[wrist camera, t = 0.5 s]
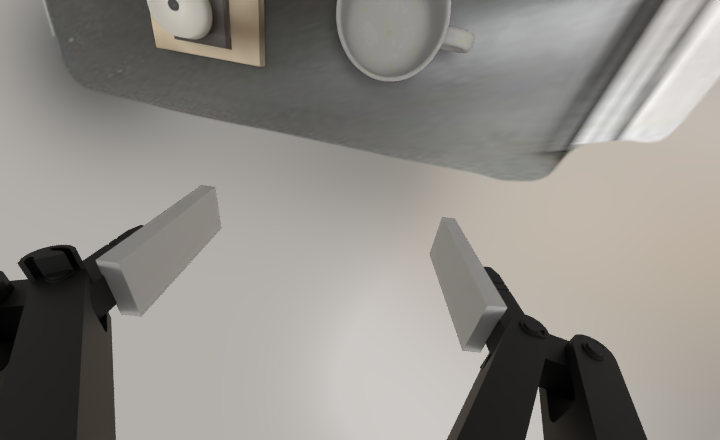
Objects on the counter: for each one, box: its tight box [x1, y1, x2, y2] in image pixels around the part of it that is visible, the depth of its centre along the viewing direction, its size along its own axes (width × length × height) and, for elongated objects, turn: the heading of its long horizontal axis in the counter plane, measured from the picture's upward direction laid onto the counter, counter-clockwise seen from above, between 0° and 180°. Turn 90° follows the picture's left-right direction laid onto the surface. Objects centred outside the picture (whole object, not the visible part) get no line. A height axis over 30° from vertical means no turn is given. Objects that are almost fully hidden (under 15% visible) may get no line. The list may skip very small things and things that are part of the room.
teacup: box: [336, 0, 474, 82], centre depth 28 cm, size 14×11×8 cm
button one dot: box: [147, 0, 212, 39], centre depth 26 cm, size 5×5×4 cm
